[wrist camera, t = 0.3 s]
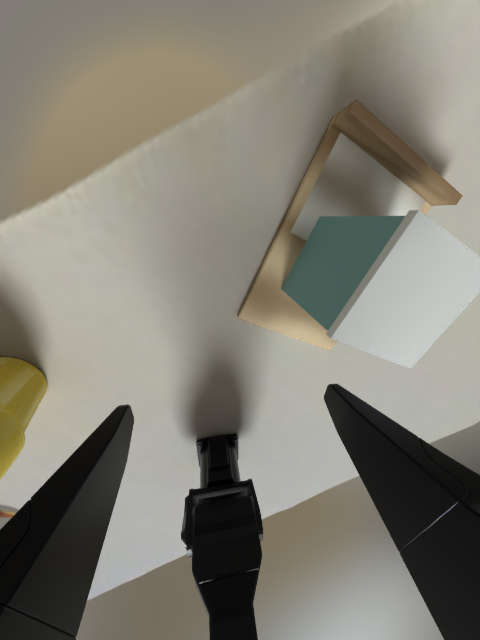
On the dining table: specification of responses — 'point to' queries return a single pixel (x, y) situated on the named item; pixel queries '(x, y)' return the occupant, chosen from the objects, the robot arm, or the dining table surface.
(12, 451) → the plant pot
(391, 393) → the dining table surface
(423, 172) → the plinth board
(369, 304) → the tin
